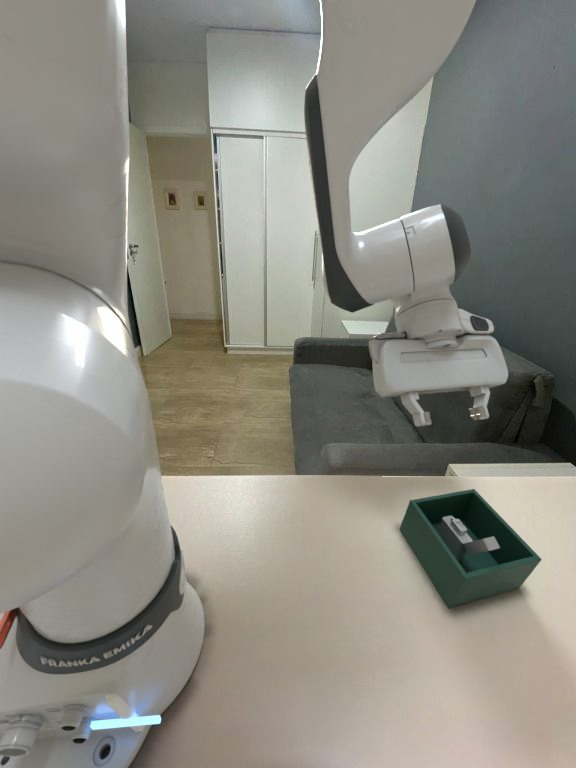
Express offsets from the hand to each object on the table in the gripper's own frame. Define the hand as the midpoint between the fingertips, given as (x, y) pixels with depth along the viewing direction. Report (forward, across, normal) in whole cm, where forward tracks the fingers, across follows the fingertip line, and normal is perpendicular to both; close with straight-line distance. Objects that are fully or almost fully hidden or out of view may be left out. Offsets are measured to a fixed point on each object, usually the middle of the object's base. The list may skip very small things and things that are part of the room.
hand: (452, 422), depth 43 cm
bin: (+18, 0, +6) cm, 19 cm away
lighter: (+18, -1, +6) cm, 19 cm away
